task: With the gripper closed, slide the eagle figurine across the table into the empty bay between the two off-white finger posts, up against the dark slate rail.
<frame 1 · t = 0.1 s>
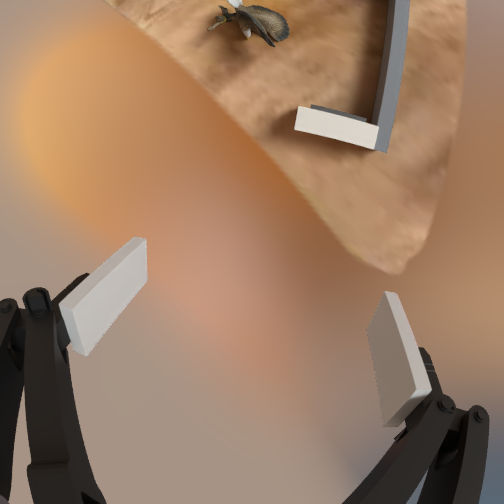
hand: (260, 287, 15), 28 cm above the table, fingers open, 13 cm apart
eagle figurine: (254, 28, 31), on the table
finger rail: (347, 44, 30), on the table
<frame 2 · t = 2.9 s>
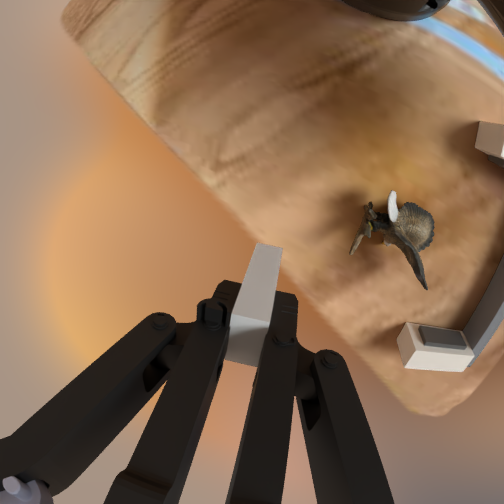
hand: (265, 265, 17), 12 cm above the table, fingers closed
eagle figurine: (394, 226, 27), on the table
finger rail: (474, 253, 26), on the table
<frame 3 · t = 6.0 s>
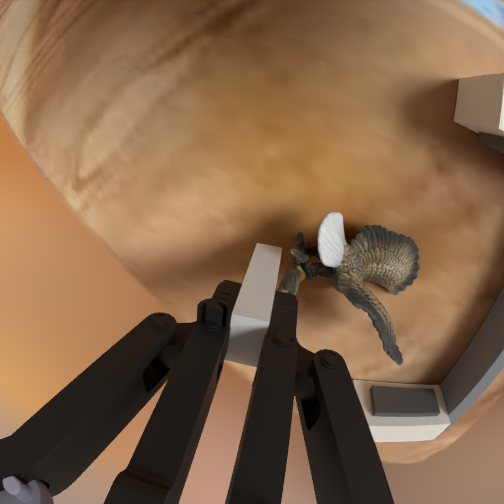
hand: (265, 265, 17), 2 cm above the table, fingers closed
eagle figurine: (354, 260, 18), on the table, touching gripper
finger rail: (458, 288, 18), on the table
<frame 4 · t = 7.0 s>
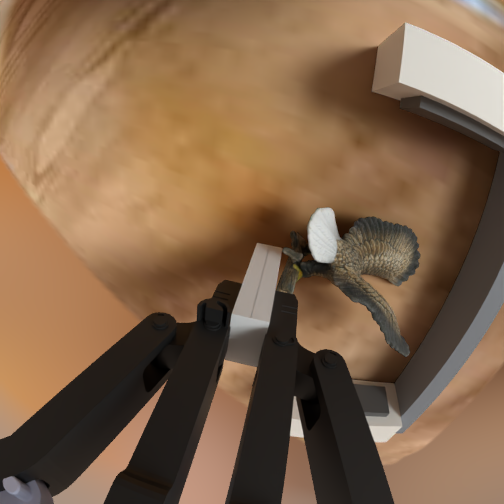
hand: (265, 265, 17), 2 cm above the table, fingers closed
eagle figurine: (352, 254, 18), on the table, touching gripper
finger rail: (398, 276, 18), on the table
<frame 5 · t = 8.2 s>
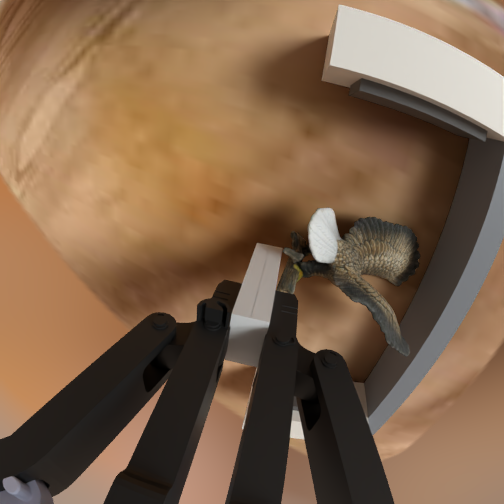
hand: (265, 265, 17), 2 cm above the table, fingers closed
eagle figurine: (353, 255, 18), on the table
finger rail: (358, 270, 18), on the table
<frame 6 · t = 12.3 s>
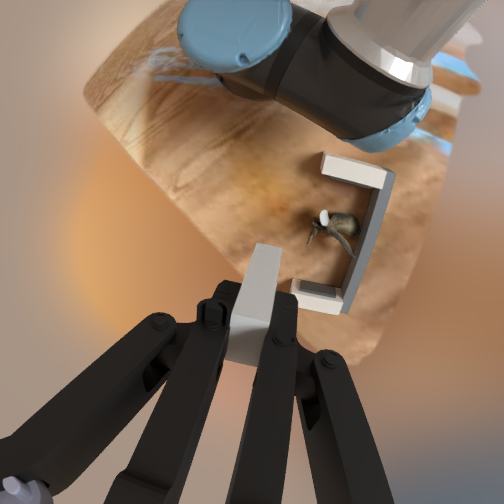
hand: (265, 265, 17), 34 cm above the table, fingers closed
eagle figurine: (334, 226, 51), on the table
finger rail: (332, 233, 51), on the table
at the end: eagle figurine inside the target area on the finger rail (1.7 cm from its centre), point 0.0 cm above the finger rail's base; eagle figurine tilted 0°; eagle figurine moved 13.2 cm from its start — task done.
